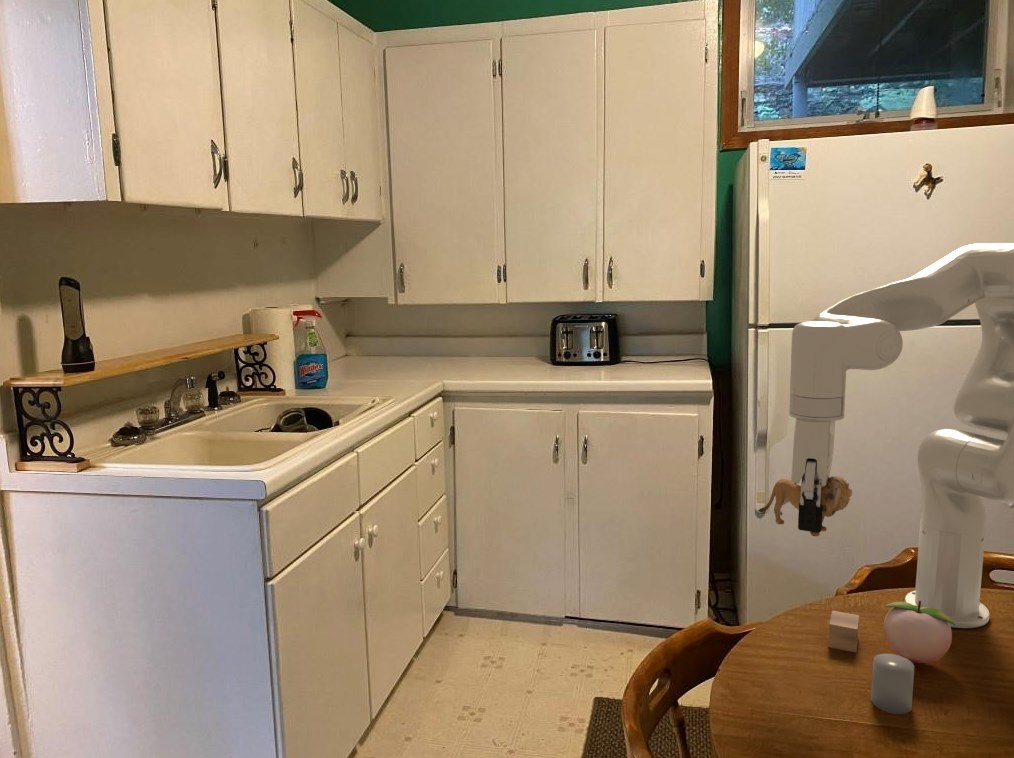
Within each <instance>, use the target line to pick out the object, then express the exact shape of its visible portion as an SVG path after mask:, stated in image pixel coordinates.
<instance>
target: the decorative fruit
mask: <svg viewBox="0 0 1014 758" xmlns="http://www.w3.org/2000/svg"><path fill="white" fill-rule="evenodd" d="M920 606H921V601H919V602H918V608H917V607H915V606H914V605H912V604H910V603H906V602H905V601H894V602H891V603H888V604H885V606H884V608H891V609H889V610H888V612H887V614H886V615H885V618H884V621H883V625H882V626H883V628H882V629H883V634H884V637H885V639H886V641H887V643H888V645H889V647H890V648H891V649H892V650H893V651H894V653H895V654H896V655H898V656H901V657H904V658H906V659H908V660H909V661H911V662H912V663H913V664H919V663H921V664H922V663H924V664H925V663H926V664H927V663H933V662H935V661H936V662H937V661H939V660H940V659H942V657H944V656H945V654H946V653H947V652H948V651H949V650H950V647H951V644H952V640H953V637H952V636H953V633H952V627H950V624H949V623H951V624H953V625H955V623H954V622H953V620H952V619H951V618H950V617H949V616H947V615H946V614H945V613H943V612H941V611H939V610H937V609H933V608H927V607H921V608H920Z"/></svg>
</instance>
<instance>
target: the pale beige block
mask: <svg viewBox="0 0 1014 758" xmlns="http://www.w3.org/2000/svg"><path fill="white" fill-rule="evenodd" d="M859 624H860V614H854V613H848V612H843V611H837V610H831V616H830V619H829V626H828V627H829V628H828V629H829V630H828V648H831V649H836V650H841V651H846V652H852V653H857V650H858V649H857V648H858V641H859V626H860V625H859Z"/></svg>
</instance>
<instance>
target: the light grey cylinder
mask: <svg viewBox="0 0 1014 758" xmlns="http://www.w3.org/2000/svg"><path fill="white" fill-rule="evenodd" d="M872 663H873V664H872V678H871V679H872V681H871V696H870V701H871V702H872V704H873V705H874V706H875V707H876V708H878V709H880V710H882V711H884V712H886V713H889V714H895V715H903V714H908V713H910V712H911V711H912V707H913V706H912V705H913V695H914V694H913V691H914V678H915V677H914V676H915V665H914V662H912V661H910V660H908V659H906V658H904V657H901V656H900V655H898V654H895V653H879V654H876V655H875V656H874V657H873V662H872Z"/></svg>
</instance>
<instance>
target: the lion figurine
mask: <svg viewBox="0 0 1014 758" xmlns="http://www.w3.org/2000/svg"><path fill="white" fill-rule="evenodd" d="M814 484H817V485H819V482H815V483H814ZM849 487H850V483H848V482H847V480H846V479H845V478H844V477H843V476H838V475H836V476H833V475H832V476H829V478H828V482H827V485H826V486H825V487H823V488H822V493H821V505H822V506H823V510H822V524H823V522H824V520H825V517H826V518H827V517H828V518H830V517H832V516H834V515H835V514H836V513H837V512H838V511H842V510H844V509H845V508H847V506H848V505H849V503H850V502H851V497H852V495H853V489H851V488H849ZM814 492H816V494H817V489H814ZM800 496H801V484H799V483H796V485H794V484H792V482H791V479H788V478H780V479H779V480H777V481H776V483H775V484H774V486H773V489H772V492H771V495H770V498H769V501H768V502H767V504H766V505H765V506H764V507H762V508H759V509H758V510H757V512H760V513H764V512H767V510H769V508H770V507H771V505H772V504H773V502H774V499H775V504H774V509H773V513H774V516H775V523H776V525H784V524H785V520H783V519H782V518H781V516H783V511H781V510H782V507H783V506H785V505H786V504H788V503H790V504H791V506H793V508H794V509H797V510H798V511H799V503H800ZM827 529H828V528H827V527H826V526H823V525H822V530H821V532H826V531H827ZM821 532H819V533H818V532H810V531H809V533H810V535H811V536H812V537H819V536H820V535H821V534H820V533H821Z"/></svg>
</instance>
